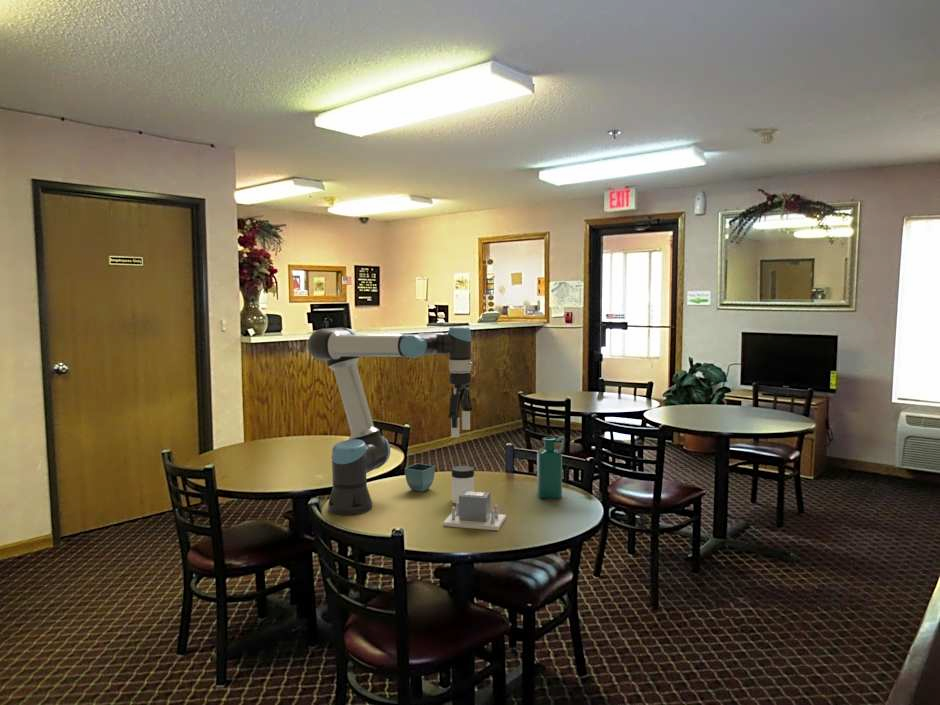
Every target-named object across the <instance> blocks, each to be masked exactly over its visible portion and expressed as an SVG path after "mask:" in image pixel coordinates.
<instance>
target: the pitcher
mask: <svg viewBox="0 0 940 705" xmlns="http://www.w3.org/2000/svg"><path fill="white" fill-rule="evenodd" d="M541 440H542V441H544V448H540V449H538V450H537V452H536V494H537V495H538V497H539V499H543V500H546V499H547V500H550V499H553V500H554V499H555V500H557V499H560V498H562V497H563V452H564V450H565V448H566V438H565V437H564V436H563V435H559V436H558V437H557V438H556V437H554V436H545V437H543V438H541ZM559 442H561V443H560V448H559V449H556V447H555V443H559Z"/></svg>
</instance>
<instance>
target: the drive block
mask: <svg viewBox="0 0 940 705" xmlns="http://www.w3.org/2000/svg"><path fill="white" fill-rule="evenodd" d="M490 514H491V492H485V491H484V492H483V491H474V492H473V491H463V492H462V493H461V494H460V495H459V520H462V521H475V522H487V520H488V519H489V518H490Z"/></svg>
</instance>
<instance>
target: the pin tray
mask: <svg viewBox="0 0 940 705" xmlns="http://www.w3.org/2000/svg"><path fill="white" fill-rule="evenodd" d="M506 519H507V514H500V513H499V505H498V504H495V505H494V509H490V518H489V519H488V520H487V522H475V521H462V520H459V502H456V503H455V506H451V513H450V514H449V515H448V516H447V518H445V520H444V521H443V523H442V525H443V527H451V528H453V527H454V528H465V529H477V530H487V531H499V529H500V528H501V527H502V526H503V524H504V522H505V521H506Z"/></svg>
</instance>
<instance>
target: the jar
mask: <svg viewBox="0 0 940 705" xmlns="http://www.w3.org/2000/svg"><path fill="white" fill-rule="evenodd" d="M463 491H473V492H475V468H474V467H472V466H470V465H469V466H468V465H457V466H453V467H451V500H452V504H456V502H459V495H460V494H461V493H462V492H463Z"/></svg>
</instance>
